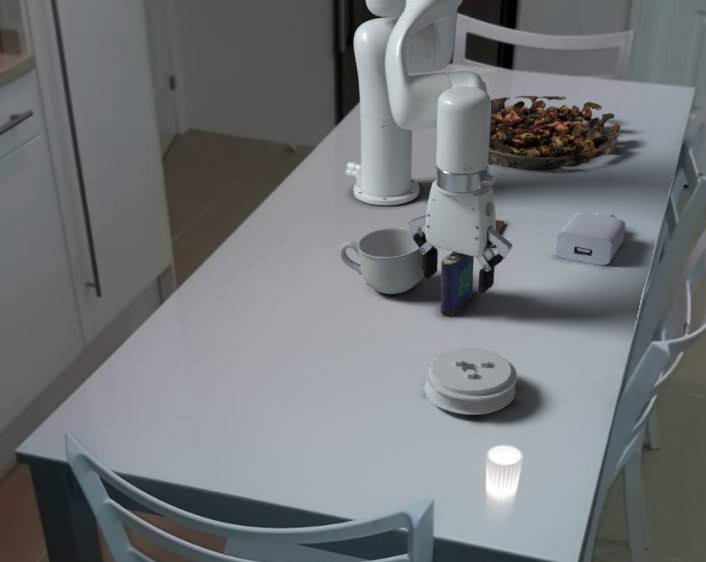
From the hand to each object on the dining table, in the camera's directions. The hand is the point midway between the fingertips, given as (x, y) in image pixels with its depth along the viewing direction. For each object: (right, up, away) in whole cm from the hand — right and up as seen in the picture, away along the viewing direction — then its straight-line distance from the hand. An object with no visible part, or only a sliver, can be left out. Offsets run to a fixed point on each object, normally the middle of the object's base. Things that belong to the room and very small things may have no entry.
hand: (457, 282), depth 169 cm
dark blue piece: (0, -3, +4) cm, 5 cm away
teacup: (-11, +1, +9) cm, 14 cm away
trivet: (+5, +13, +24) cm, 28 cm away
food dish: (+21, +40, +58) cm, 73 cm away
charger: (+26, +10, +20) cm, 34 cm away
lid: (0, -19, -17) cm, 25 cm away
